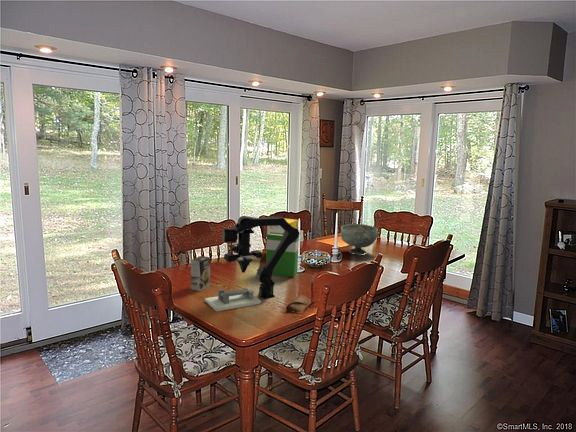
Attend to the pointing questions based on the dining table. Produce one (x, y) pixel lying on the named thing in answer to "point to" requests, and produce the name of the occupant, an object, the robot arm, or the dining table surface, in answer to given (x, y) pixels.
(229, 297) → the base
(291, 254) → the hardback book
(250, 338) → the dining table surface
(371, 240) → the decorative bowl
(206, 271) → the coffee box
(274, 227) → the packaging box
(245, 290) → the bar
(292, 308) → the sunglasses case
